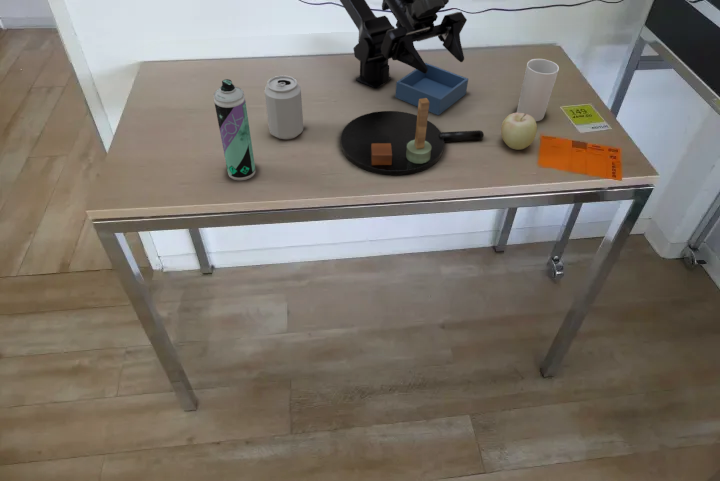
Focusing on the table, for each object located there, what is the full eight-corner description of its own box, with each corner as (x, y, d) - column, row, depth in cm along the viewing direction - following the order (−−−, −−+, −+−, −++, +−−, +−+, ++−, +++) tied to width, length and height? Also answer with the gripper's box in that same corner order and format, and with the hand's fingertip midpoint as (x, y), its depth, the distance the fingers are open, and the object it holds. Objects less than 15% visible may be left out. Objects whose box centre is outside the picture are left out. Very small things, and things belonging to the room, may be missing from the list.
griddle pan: (345, 178, 112) (345, 170, 110) (336, 117, 127) (336, 110, 126) (497, 169, 114) (499, 161, 113) (470, 111, 130) (471, 103, 128)
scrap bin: (395, 97, 134) (396, 81, 131) (423, 77, 140) (425, 62, 138) (438, 115, 128) (440, 99, 125) (465, 94, 135) (468, 78, 132)
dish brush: (402, 151, 116) (407, 95, 107) (425, 147, 117) (432, 92, 108) (410, 165, 113) (415, 109, 104) (433, 161, 114) (441, 105, 105)
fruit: (540, 148, 120) (549, 115, 114) (514, 158, 117) (523, 126, 112) (515, 130, 125) (523, 98, 119) (490, 140, 122) (497, 108, 116)
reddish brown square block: (370, 153, 116) (371, 143, 114) (390, 153, 116) (390, 143, 114) (371, 165, 113) (372, 155, 111) (391, 165, 113) (392, 155, 111)
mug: (549, 121, 127) (563, 73, 119) (520, 123, 127) (533, 74, 118) (534, 98, 134) (547, 51, 126) (507, 99, 134) (518, 52, 125)
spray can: (229, 164, 114) (212, 74, 100) (256, 163, 115) (243, 73, 100) (226, 181, 110) (209, 89, 96) (255, 180, 111) (241, 89, 97)
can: (309, 126, 124) (306, 76, 116) (295, 144, 119) (291, 94, 111) (278, 119, 126) (273, 70, 118) (263, 137, 121) (257, 87, 113)
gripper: (379, -14, 106) (420, 48, 102) (456, -31, 113) (498, 26, 109) (365, 29, 116) (402, 88, 112) (437, 11, 123) (474, 65, 119)
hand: (444, 66), depth 113 cm, fingers open, 9 cm apart
